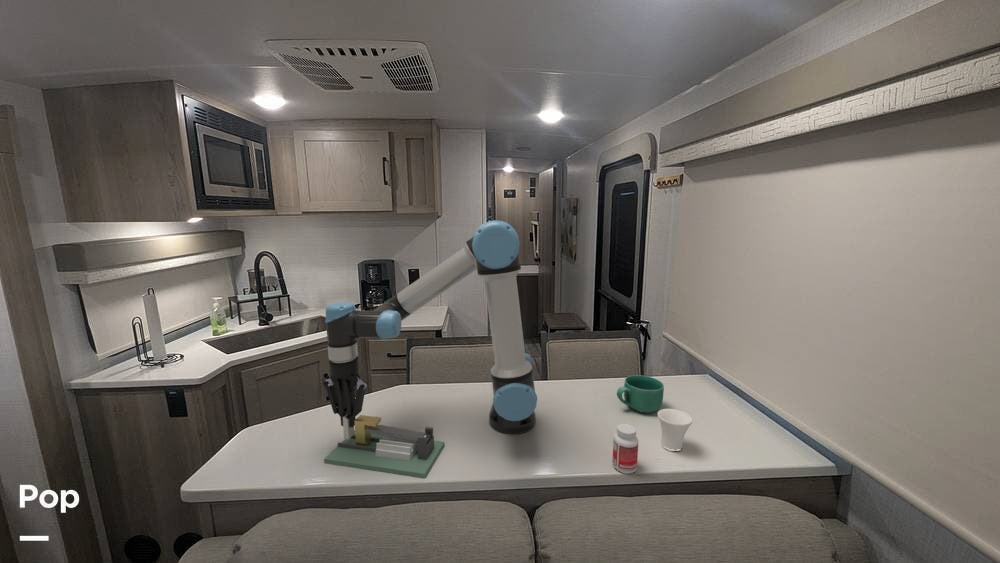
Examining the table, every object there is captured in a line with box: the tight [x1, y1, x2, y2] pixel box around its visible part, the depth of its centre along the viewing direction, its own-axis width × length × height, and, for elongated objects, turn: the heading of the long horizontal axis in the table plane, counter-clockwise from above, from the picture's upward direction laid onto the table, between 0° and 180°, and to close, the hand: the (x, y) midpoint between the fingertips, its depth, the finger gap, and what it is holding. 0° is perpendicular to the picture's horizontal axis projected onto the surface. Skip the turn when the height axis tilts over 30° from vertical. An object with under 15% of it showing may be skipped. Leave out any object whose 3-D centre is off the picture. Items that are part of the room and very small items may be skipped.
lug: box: [354, 414, 382, 446], centre depth 104 cm, size 6×3×8 cm, turn 78°
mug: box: [616, 374, 665, 413], centre depth 127 cm, size 17×13×10 cm
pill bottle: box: [611, 423, 639, 475], centre depth 96 cm, size 6×6×11 cm
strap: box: [367, 424, 431, 443], centre depth 102 cm, size 18×3×2 cm, turn 78°
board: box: [323, 426, 445, 479], centre depth 102 cm, size 29×14×7 cm, turn 78°
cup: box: [657, 408, 693, 450], centre depth 105 cm, size 9×9×10 cm
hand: (349, 436), depth 106 cm, fingers closed
